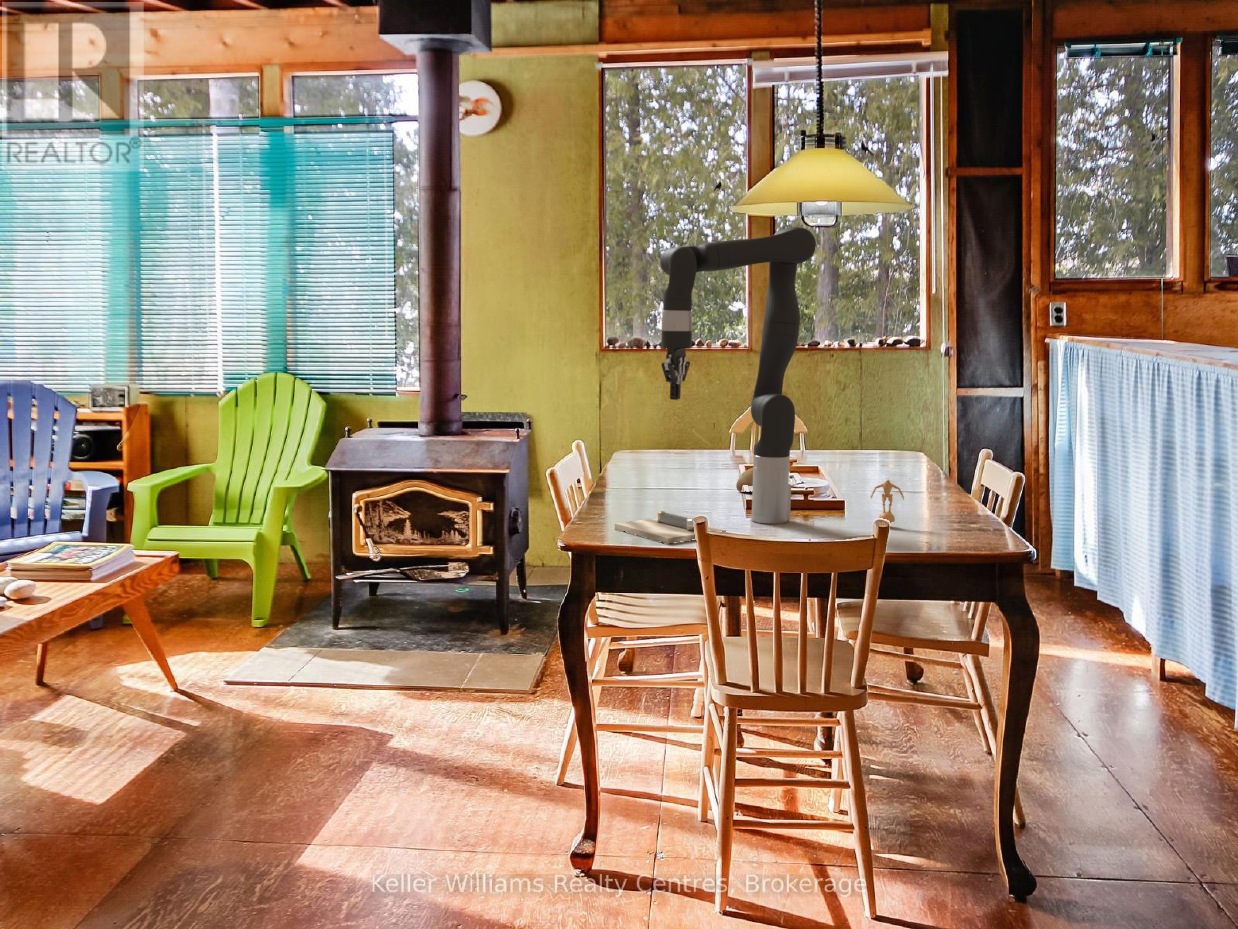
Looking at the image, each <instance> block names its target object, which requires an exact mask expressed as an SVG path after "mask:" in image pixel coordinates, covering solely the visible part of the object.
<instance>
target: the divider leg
mask: <svg viewBox="0 0 1238 929" xmlns="http://www.w3.org/2000/svg"><path fill="white" fill-rule="evenodd" d="M657 518H658V522H663V523H667V524H671V525H675V526H679V527H683V528H687V530H694V527H693V520H694V518H695V517H687V516H682V515H677V514H674V513H669V512H666V511H665V510H659V511H657Z"/></svg>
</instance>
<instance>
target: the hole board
mask: <svg viewBox="0 0 1238 929" xmlns="http://www.w3.org/2000/svg"><path fill="white" fill-rule="evenodd" d="M708 529H709V530H710V531H722V532H726V533H727V530H726V529H722V528H719V527H716V526H711V525H708ZM614 530H617V531H618V532H619V531H620V532H622V531H625V532H624V533H626V532H627V534H629V533H630V534H629V535H633V534H636V535H639V536H638V537H640V536H641V538H643V537H647V538H649V539H648V540H650V539H652V540H651V541H654V540H655V541H654V542H657V541H661V542H663V543H662V544H664V543H666V544H665V545H670V544H669V543H674V542H680V541H689V540H692V539H695V534H694V530H687V528H683V527H679V526H675V525H671V524H667V523H663V522H658V517H656V518H655V517H654V518H648V519H640V520H633V521H623V522H615V523H614ZM636 535H635V536H636ZM647 538H646V539H647ZM661 542H660V543H661ZM689 542H690V541H689ZM674 544H675V543H674Z"/></svg>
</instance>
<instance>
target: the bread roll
mask: <svg viewBox="0 0 1238 929" xmlns="http://www.w3.org/2000/svg"><path fill="white" fill-rule="evenodd" d="M743 485H748V486H753V467H750V468H749V469H747V470H745V471H743V472H742V473H741V475H740V476H739V477H738V479H737V481H736V484H735V486H736V490H737V491H738V492H740V491H741V490H742V486H743Z"/></svg>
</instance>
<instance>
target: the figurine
mask: <svg viewBox="0 0 1238 929" xmlns="http://www.w3.org/2000/svg"><path fill="white" fill-rule="evenodd" d="M880 488H882V489H883V492H884V493H882V494H881V501H882V512H881V514H879V516H878V519H879V518H883V519H887V520H889V521H890V523H891V522H894V521H896V520H895V519H896V518H895V515H894V514H893V513H892V509H891V507H892V505H893V504H892V503H893V497H894V496H893V493H891V491H892V488H893V489H896V490H898V491H899V493H900V495H901V498H902V501H904V500H905V497H904V495H903V492H902V491H901V488H900V487H899V486H897V485H895V484H894V483H892V482H891V480H889V479H886V480H885V481H884V482H883V483H880V484H879V485H876V486H875V487H874V489H873V491H872V492H871V495H870V499H873V497H874V494H875V492H876V490H877V489H880ZM887 499H888V501H889V504H888V511H886V501H887ZM894 523H895V522H894Z"/></svg>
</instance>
